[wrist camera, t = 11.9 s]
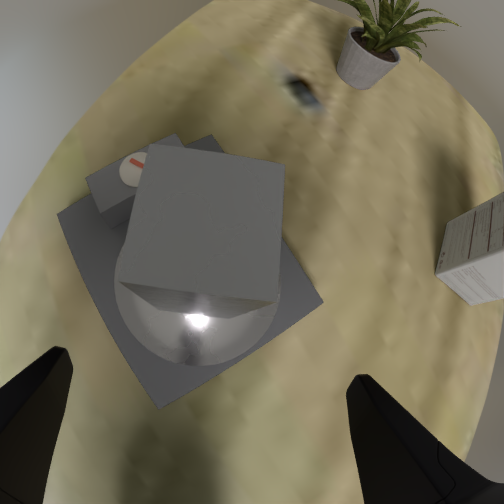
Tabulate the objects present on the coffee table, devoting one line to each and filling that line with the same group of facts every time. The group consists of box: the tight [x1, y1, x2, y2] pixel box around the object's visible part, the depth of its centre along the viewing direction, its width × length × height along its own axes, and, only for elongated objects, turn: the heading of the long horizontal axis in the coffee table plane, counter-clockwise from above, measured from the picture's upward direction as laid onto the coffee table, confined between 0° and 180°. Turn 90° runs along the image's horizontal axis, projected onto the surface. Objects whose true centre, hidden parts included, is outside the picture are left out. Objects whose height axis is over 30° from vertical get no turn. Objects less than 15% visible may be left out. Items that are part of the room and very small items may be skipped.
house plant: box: [336, 0, 459, 90], centre depth 25 cm, size 14×14×16 cm
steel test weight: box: [118, 144, 285, 319], centre depth 14 cm, size 4×4×11 cm
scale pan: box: [114, 243, 281, 366], centre depth 20 cm, size 11×11×1 cm
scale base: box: [57, 133, 324, 409], centre depth 20 cm, size 14×16×5 cm
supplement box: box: [435, 192, 504, 305], centre depth 22 cm, size 7×7×13 cm
